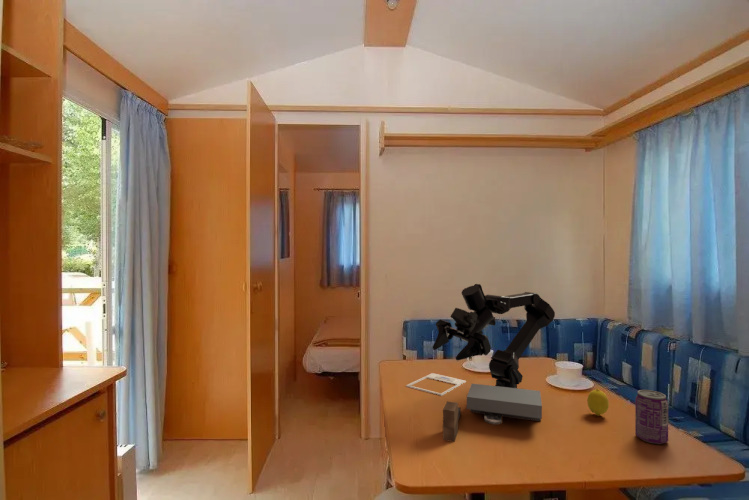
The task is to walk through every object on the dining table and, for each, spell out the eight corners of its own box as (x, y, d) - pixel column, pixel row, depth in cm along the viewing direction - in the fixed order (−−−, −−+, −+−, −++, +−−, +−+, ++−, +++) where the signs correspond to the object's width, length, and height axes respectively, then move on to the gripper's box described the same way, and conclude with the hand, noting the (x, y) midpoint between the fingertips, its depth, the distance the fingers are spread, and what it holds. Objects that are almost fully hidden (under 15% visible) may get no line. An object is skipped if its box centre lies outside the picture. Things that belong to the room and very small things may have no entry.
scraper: (464, 414, 122) (463, 388, 122) (454, 441, 105) (454, 411, 105) (454, 413, 123) (453, 387, 123) (442, 439, 106) (442, 409, 106)
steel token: (493, 416, 121) (493, 411, 121) (505, 423, 117) (505, 417, 117) (480, 419, 119) (480, 414, 119) (492, 426, 115) (492, 421, 115)
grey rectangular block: (540, 416, 121) (540, 390, 121) (541, 433, 110) (541, 405, 110) (471, 407, 128) (471, 383, 128) (466, 422, 117) (466, 396, 116)
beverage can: (662, 435, 108) (662, 390, 108) (672, 448, 101) (672, 400, 101) (632, 431, 111) (632, 387, 110) (639, 443, 104) (639, 397, 104)
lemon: (607, 413, 122) (607, 387, 122) (609, 420, 117) (609, 393, 117) (586, 410, 125) (586, 384, 125) (587, 417, 120) (587, 390, 120)
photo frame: (466, 380, 151) (441, 393, 138) (466, 383, 151) (441, 397, 138) (432, 372, 161) (406, 384, 147) (432, 375, 161) (406, 387, 147)
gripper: (447, 295, 131) (414, 324, 124) (495, 309, 116) (461, 343, 109) (456, 321, 135) (425, 351, 128) (504, 338, 121) (472, 373, 113)
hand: (444, 353), depth 119 cm, fingers open, 9 cm apart
